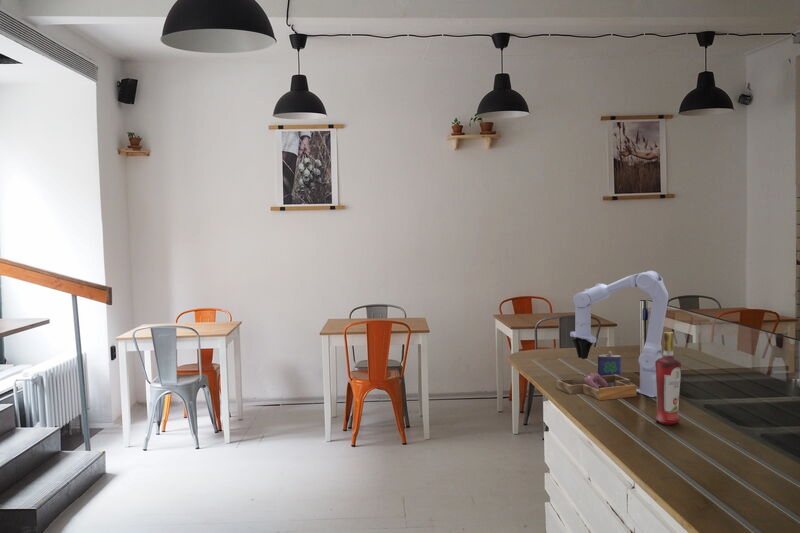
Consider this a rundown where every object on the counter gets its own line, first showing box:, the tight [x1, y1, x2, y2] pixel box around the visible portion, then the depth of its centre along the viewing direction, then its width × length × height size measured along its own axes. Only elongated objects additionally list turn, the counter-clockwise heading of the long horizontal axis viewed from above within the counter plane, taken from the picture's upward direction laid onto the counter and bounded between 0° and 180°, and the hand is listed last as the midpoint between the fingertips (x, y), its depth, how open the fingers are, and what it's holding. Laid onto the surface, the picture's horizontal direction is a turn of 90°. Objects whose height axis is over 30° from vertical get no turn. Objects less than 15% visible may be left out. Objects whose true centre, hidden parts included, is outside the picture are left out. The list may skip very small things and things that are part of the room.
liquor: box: [655, 331, 682, 426], centre depth 193 cm, size 7×7×28 cm
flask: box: [597, 351, 622, 377], centre depth 250 cm, size 9×3×11 cm, turn 88°
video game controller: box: [584, 372, 609, 390], centre depth 234 cm, size 10×5×7 cm, turn 141°
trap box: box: [555, 374, 638, 401], centre depth 230 cm, size 20×26×4 cm
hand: (582, 358), depth 242 cm, fingers closed
